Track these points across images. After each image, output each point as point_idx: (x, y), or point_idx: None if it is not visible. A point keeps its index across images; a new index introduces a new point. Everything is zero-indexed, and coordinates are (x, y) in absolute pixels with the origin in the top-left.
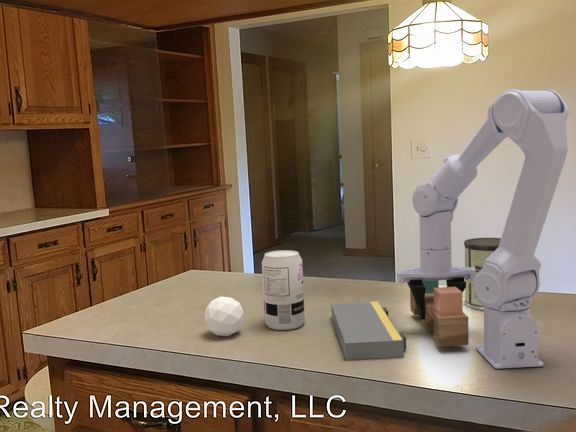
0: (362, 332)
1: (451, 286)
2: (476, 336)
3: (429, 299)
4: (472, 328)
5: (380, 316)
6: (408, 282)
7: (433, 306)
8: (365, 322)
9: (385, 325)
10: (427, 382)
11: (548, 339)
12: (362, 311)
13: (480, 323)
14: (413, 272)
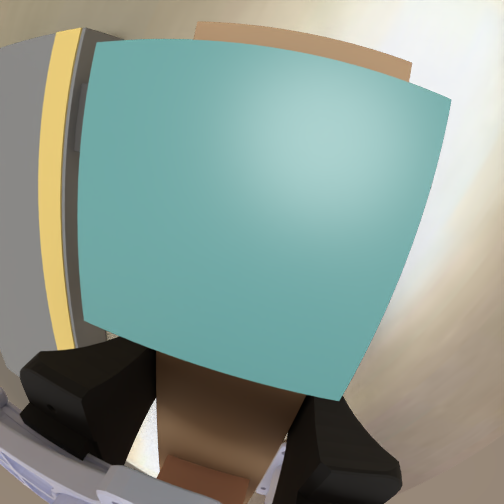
0: (19, 341)
1: (280, 499)
2: (352, 387)
3: (196, 374)
4: (398, 328)
5: (45, 250)
6: (34, 404)
7: (176, 440)
8: (15, 279)
9: (56, 336)
10: (137, 461)
11: (470, 435)
12: (10, 161)
13: (460, 293)
14: (26, 474)
